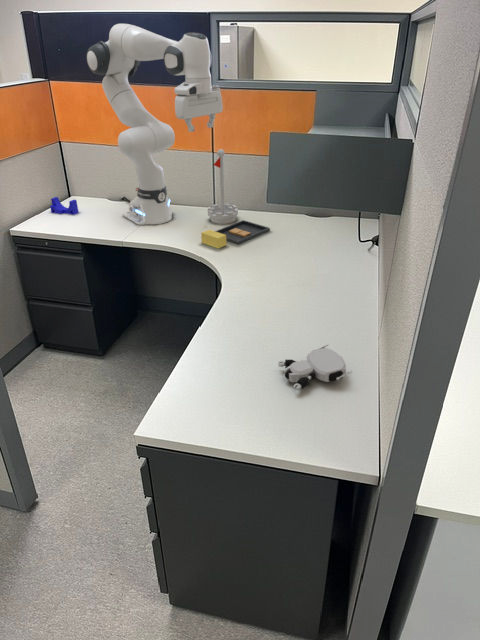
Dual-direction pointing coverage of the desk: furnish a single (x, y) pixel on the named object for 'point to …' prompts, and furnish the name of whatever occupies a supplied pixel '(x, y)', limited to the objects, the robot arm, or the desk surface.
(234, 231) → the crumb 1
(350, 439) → the desk surface
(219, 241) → the sponge
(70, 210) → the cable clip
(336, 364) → the robot toy
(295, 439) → the desk surface
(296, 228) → the desk surface
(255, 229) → the tray
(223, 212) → the flag stand
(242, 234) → the crumb
